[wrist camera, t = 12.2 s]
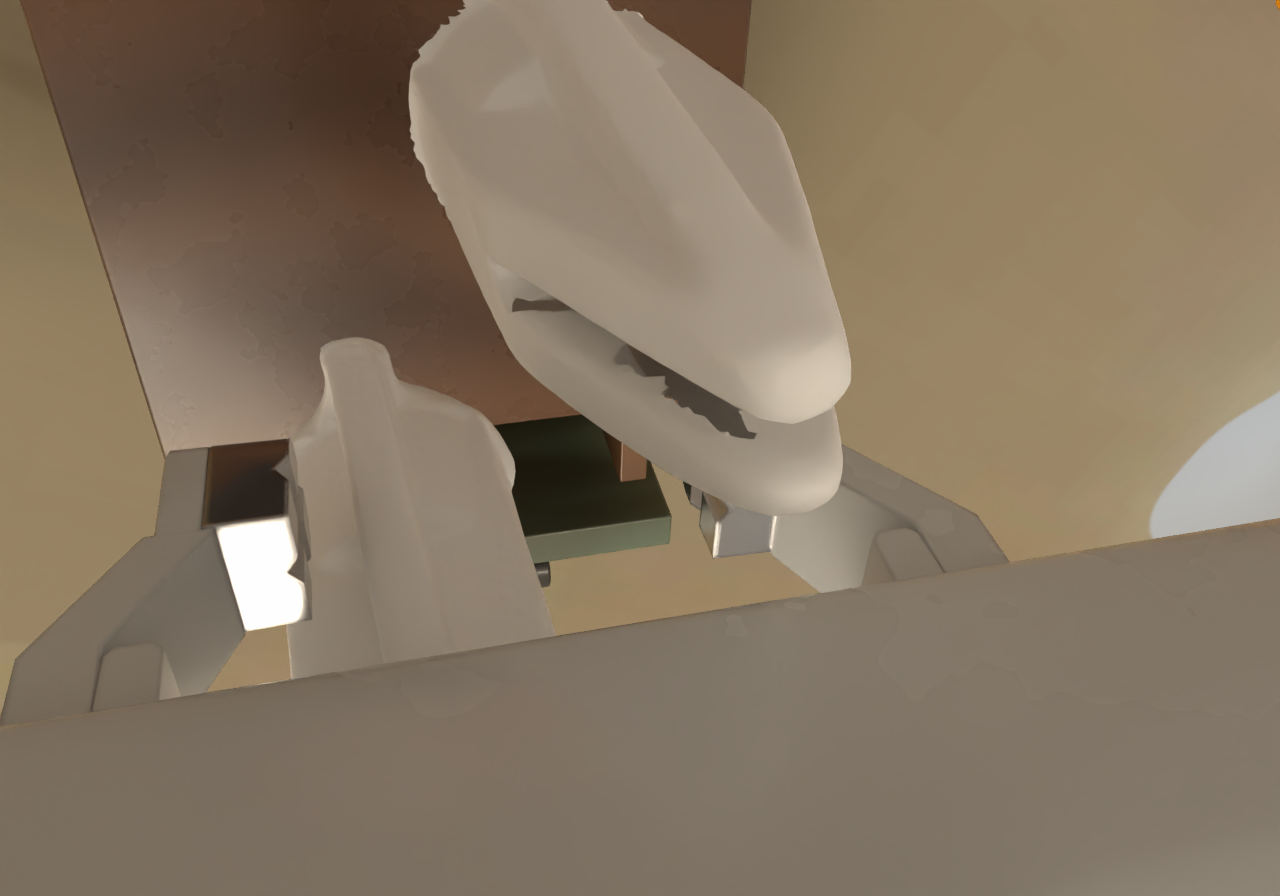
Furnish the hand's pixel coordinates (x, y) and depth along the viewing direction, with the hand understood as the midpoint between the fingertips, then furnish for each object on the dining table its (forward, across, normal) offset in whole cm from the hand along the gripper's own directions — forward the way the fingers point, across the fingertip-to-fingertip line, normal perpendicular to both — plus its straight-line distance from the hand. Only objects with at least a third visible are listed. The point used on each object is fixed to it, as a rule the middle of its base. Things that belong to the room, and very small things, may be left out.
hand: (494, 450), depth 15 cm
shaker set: (+4, 0, 0) cm, 5 cm away
